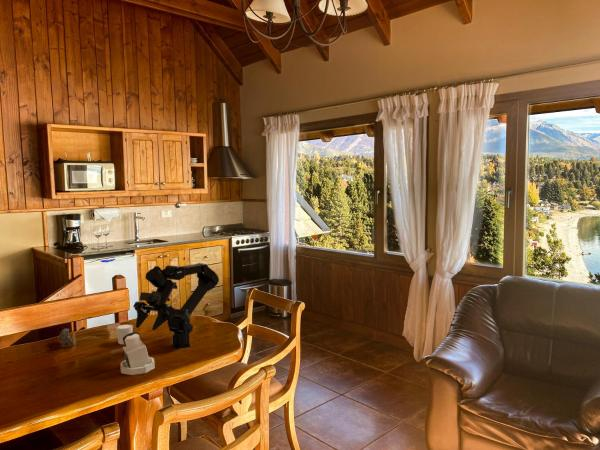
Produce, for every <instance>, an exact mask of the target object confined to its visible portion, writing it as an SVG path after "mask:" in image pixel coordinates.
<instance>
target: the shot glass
mask: <svg viewBox="0 0 600 450" xmlns="http://www.w3.org/2000/svg"><path fill="white" fill-rule="evenodd" d="M115 328H116V337H117V343H118V344H119V345H124V342H123V337H124V336H125V335H127V334H129V333H132V332H134V331H133V328H134V325H133V324H120V325H117V326H116V327H115Z"/></svg>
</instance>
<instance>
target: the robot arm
mask: <svg viewBox="0 0 600 450" xmlns="http://www.w3.org/2000/svg"><path fill="white" fill-rule="evenodd" d="M189 275H196V277H197V279H198V280H197V286H196V287H195V289H194V291H192V293H191V294H190V296H189V297H188V298H187V300H186V301H185V302H184V304H183V305H182V306H181V308H180V309H179V308H174V307H173V306H172V305H171V304H168V303H167V302H170V300H171V299H170V296H171V295H172V292H173V290H177V289H178V285H177V282H176V281H180V280H183V279H185V277H186V276H189ZM144 278H145V280H147V282H149V283H150V284H151V285H152V286H153V287H154V288H156V290H155V291H153V290H152V291H151V292H145V291H143V292H142V291H141V292H140V295H139V299H138V300H139V301H138V300H137V301H135V302H134V304H133V307H132V308H134V310H135V311H136V323H135V328H136V329H139V328H140V326H141V325H142V324H143V323H144V321H145V320H146V319H147V318H148V317H149V314H150V313H151V311H152V312H157V316H156V318H155V321H154V324H153V325H152V328H151V329H152V331H156V330H157V329H158V328H160V326H162V325H163V324H164V323H166V324H167V326H168V329H169V332H172V334H171V344H172V346H173V347H174V349H179V348H180V349H181V348H187V347H188V348H189V347H191V343H190V334H191V333H192V332H193V329H194V325H193V324H191V315H192V313H193V312H194V311H195V309H196V308H197V306H198V305H199V304H200V302H201V301H202V300H203V298H204V297H205V295H206V294H207V293H208V292H210V291H211V290H214V289H215V287H216V286H217V285H218V284H219V281H220V278H219V275H218V274H217V273H216V271H214V270H213V269H212V268H210V267H209V265H208V264H206V263H201V262H198V263H194V264H189V265H183V266H181V265H180V266H177V265H165V267H164V268H163V269H162V268H161V267H160V266H158V265H154V267H153V268H151V269H149V270H148V271H147V272H146V274H145V277H144ZM172 280H173V281H172Z"/></svg>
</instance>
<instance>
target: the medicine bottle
mask: <svg viewBox="0 0 600 450" xmlns="http://www.w3.org/2000/svg"><path fill="white" fill-rule="evenodd" d="M123 342H124V344H123V345H124V346H123V347H122V352H123V354H124V355H123V356H124V358H125V360H126V363H127V365H128V366H129V368H138V367H141V366H144V365H146V364H148V363H150V360H149V357H150V356H149V353H148V350H147V346H146V345H145V343H144V342H143V341H142V338H141V335H140V333H139V332H136V331H135V332H134V331H132V333H129V334H127V335H125V336H124V337H123Z"/></svg>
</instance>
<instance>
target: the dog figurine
mask: <svg viewBox="0 0 600 450" xmlns="http://www.w3.org/2000/svg"><path fill="white" fill-rule="evenodd" d="M70 330H71V329H70V328H63V329H62V330H61V331H60V333H59V336H57V340H59V341H61V343H62V344H60V345H59V348H64V347H65V346H66V345H69V344H71V345H72V346H73V347H75V346H76V344H75V343H74V341H73V340H72V337H71V336H70V334H69V333H70Z"/></svg>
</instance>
